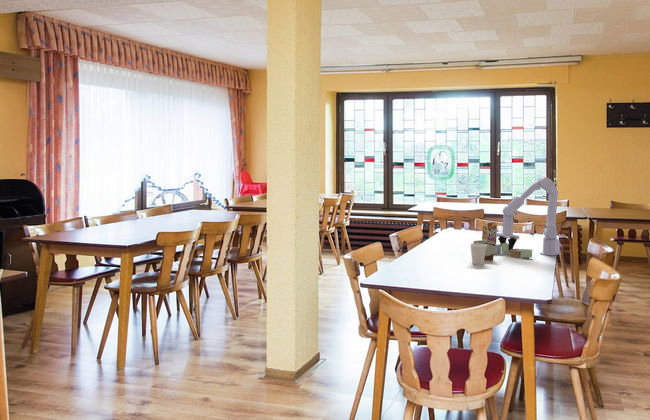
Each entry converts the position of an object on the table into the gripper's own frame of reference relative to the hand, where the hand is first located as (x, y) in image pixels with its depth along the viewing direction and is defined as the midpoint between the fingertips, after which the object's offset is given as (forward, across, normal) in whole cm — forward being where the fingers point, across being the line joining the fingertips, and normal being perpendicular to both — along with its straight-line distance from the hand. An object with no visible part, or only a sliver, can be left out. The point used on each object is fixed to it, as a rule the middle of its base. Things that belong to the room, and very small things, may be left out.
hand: (507, 250), depth 364 cm
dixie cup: (+2, +14, -42) cm, 44 cm away
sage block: (+1, 0, 0) cm, 1 cm away
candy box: (+2, -21, +10) cm, 23 cm away
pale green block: (+1, +18, -7) cm, 19 cm away
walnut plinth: (+2, +11, -6) cm, 13 cm away
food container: (+2, +8, -29) cm, 30 cm away
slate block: (+2, -2, -8) cm, 8 cm away
